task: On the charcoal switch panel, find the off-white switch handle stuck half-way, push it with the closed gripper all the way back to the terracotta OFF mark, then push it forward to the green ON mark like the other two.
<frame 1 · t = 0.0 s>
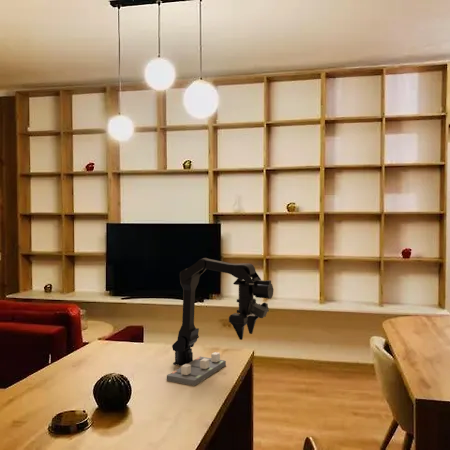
hand: (246, 336, 189), 14 cm above the table, tool pointing down, fingers open, 9 cm apart
far switch: (215, 366, 198), resting on breaker panel, slide at 6.0 cm
middle switch: (204, 373, 190), resting on breaker panel, slide at 6.0 cm
breaker panel: (197, 372, 191), on the table
tripped switch: (186, 379, 183), resting on breaker panel, slide at 3.0 cm
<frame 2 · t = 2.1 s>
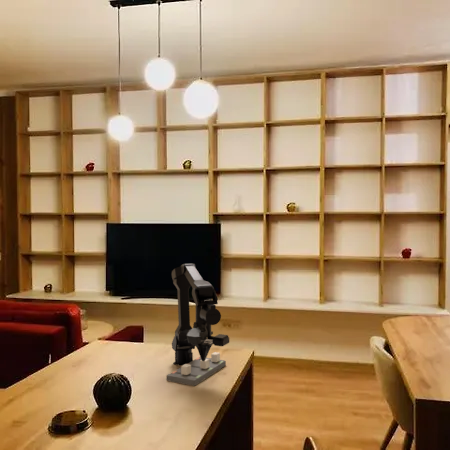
hand: (203, 360, 180), 8 cm above the table, tool pointing down, fingers closed
nothing on the table moved.
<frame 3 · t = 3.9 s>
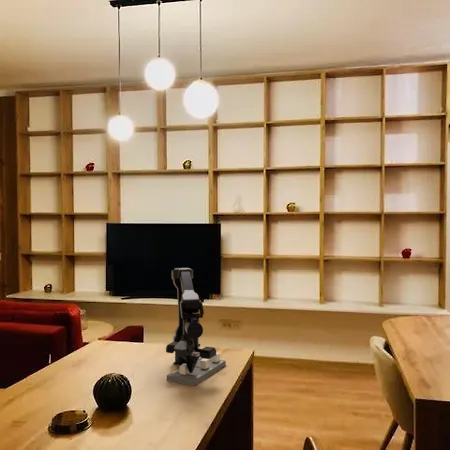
hand: (191, 372, 182), 3 cm above the table, tool pointing down, fingers closed
tripped switch: (184, 379, 184), resting on breaker panel, slide at 2.3 cm, touching gripper
everything else where it was.
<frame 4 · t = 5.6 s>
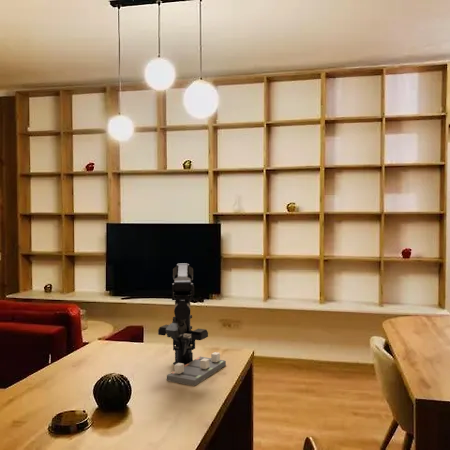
hand: (182, 354, 183), 9 cm above the table, tool pointing down, fingers closed
tripped switch: (179, 378, 185), resting on breaker panel, slide at -0.1 cm
everything else where it was.
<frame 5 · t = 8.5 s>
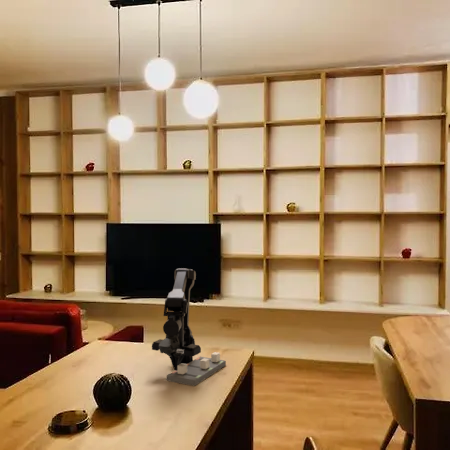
hand: (176, 369, 185), 3 cm above the table, tool pointing down, fingers closed
tripped switch: (182, 379, 184), resting on breaker panel, slide at 1.4 cm, touching gripper
everything else where it was.
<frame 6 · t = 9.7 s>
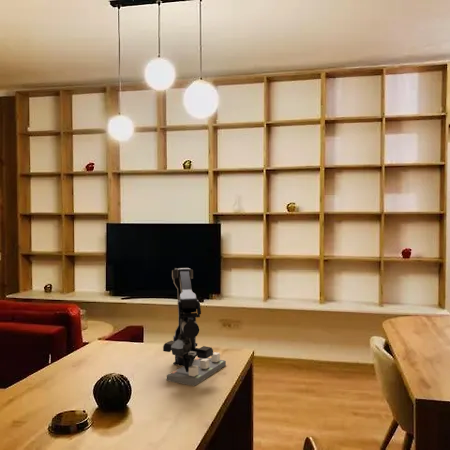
hand: (187, 371, 183), 3 cm above the table, tool pointing down, fingers closed
tripped switch: (193, 381, 182), resting on breaker panel, slide at 6.2 cm, touching gripper
everything else where it was.
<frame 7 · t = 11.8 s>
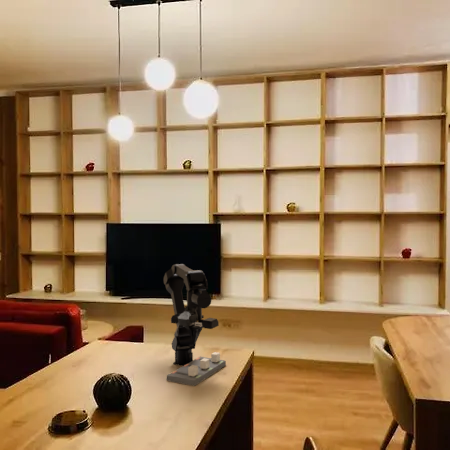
hand: (194, 342, 190), 12 cm above the table, tool pointing down, fingers closed
tripped switch: (193, 381, 182), resting on breaker panel, slide at 6.1 cm
everything else where it was.
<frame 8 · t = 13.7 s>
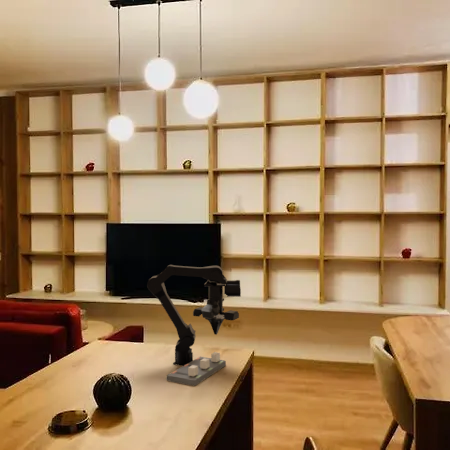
hand: (215, 334, 202), 12 cm above the table, tool pointing down, fingers closed
nothing on the table moved.
at the end: tripped switch slide at 6.1 cm; middle switch slide at 6.0 cm; far switch slide at 6.0 cm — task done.
